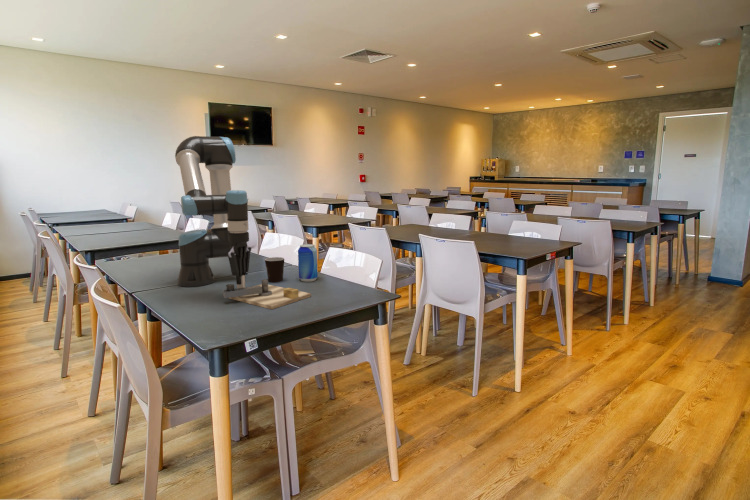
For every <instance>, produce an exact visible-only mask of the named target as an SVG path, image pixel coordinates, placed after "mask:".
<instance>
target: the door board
mask: <svg viewBox="0 0 750 500" xmlns="http://www.w3.org/2000/svg"><path fill="white" fill-rule="evenodd" d="M255 286H261V287H262V293H260V294H253V295H246V296H238V297H231V298H229V300H234V301H238V302H241V303H245V304H250V305H253V306H257V307H260V308H265V309H269V310H274V309H275V310H276V309H278V308H280V307H284V306H288V305H289V304H293V303H296V302H299V301H302V300H304V299H308V298H310V297H312V293H310V292H305V291H301V290H299V289H298V288H293V287H282V286H276V285H273V284H269V281H268V278H267V279H265V278H264V279H262V280H261V284H256V285H255Z"/></svg>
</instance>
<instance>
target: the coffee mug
mask: <svg viewBox="0 0 750 500" xmlns="http://www.w3.org/2000/svg"><path fill="white" fill-rule="evenodd" d="M264 262H265V270H266V275H267V280H268V283H281V282H283V281H284V268H285V257H280V256H278V257H277V256H275V257H274V256H273V257H267V258H265V259H264Z"/></svg>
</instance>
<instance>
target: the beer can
mask: <svg viewBox="0 0 750 500" xmlns="http://www.w3.org/2000/svg"><path fill="white" fill-rule="evenodd" d="M297 258H298V260H297V261H298V278H299V280H300V281H301V282H304V283H305V282H307V283H309V282H314V281H315V282H316V280H317V278H319V277H318V274H319V273H318V250H317V248H316V246H315V245H314V244H311V243H305V244H300V245H299V248H298V249H297Z"/></svg>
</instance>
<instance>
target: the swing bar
mask: <svg viewBox="0 0 750 500" xmlns="http://www.w3.org/2000/svg"><path fill="white" fill-rule="evenodd" d="M225 286H226V289H223V290H222V295H223V298H224V299H230V298H231V297H238V296H246V295H253V294H260V293H262V287H261V286H256V285H252V286H245V287H244V288H237V287H236V288H235V284H234V283H230V284H226V285H225Z"/></svg>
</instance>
